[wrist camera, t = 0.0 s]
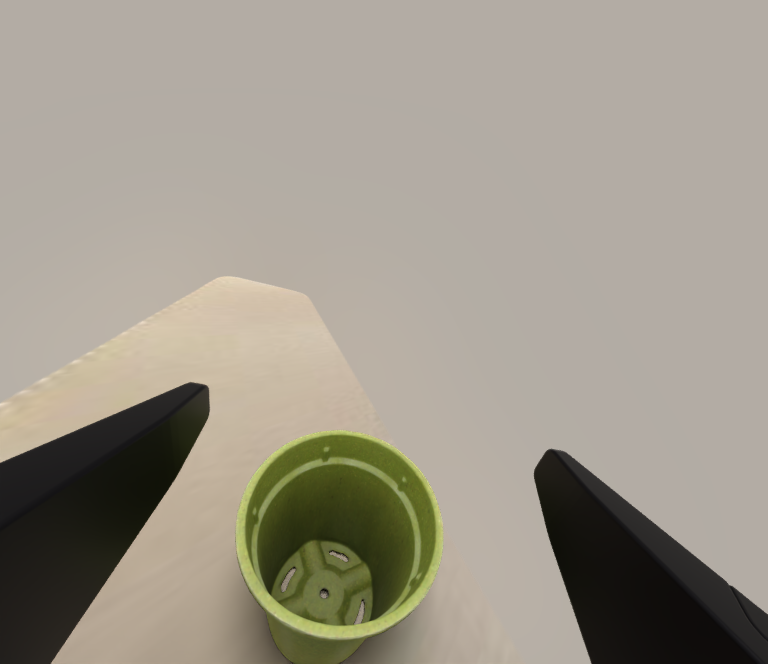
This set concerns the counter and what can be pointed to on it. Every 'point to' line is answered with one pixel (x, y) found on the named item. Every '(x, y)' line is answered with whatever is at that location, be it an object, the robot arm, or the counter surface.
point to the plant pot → (337, 542)
